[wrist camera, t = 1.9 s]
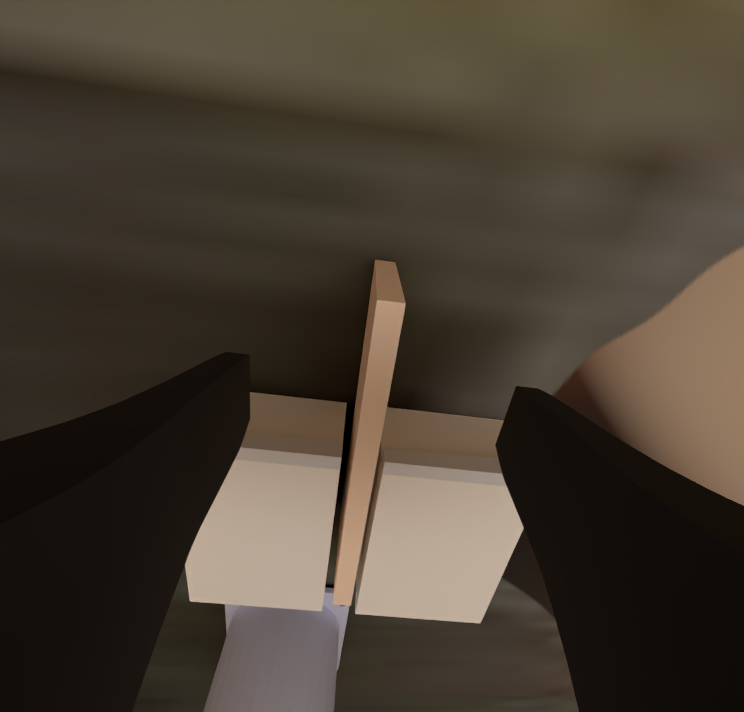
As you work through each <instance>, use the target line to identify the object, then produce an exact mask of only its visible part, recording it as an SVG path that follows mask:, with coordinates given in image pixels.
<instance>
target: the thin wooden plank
mask: <svg viewBox="0 0 744 712" xmlns="http://www.w3.org/2000/svg"><path fill="white" fill-rule="evenodd" d="M405 305H406V302H405V298H404V295H403V291H402V287H401V283H400V279H399V275H398V271H397V267H396V263H395V262H389V261H382V260H375V264H374V271H373V279H372V286H371V293H370V300H369V308H368V315H367V322H366V330H365V337H364V344H363V352H362V359H361V366H360V373H359V381H358V388H357V395H356V403H355V410H354V417H353V424H352V432H351V439H350V446H349V454H348V461H347V468H346V475H345V483H344V490H343V497H342V505H341V512H340V524H339V535H338V547H337V558H336V570H335V581H334V593H333V604H334V605H347V606H351V601H352V596H353V590H354V585H355V579H356V574H357V568H358V563H359V557H360V552H361V546H362V541H363V535H364V530H365V524H366V519H367V513H368V508H369V503H370V497H371V492H372V486H373V481H374V475H375V470H376V464H377V459H378V453H379V448H380V442H381V437H382V431H383V426H384V420H385V415H386V409H387V404H388V398H389V393H390V387H391V382H392V376H393V371H394V366H395V360H396V355H397V349H398V344H399V338H400V333H401V327H402V322H403V316H404V311H405Z"/></svg>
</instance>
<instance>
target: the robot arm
mask: <svg viewBox="0 0 744 712" xmlns="http://www.w3.org/2000/svg"><path fill="white" fill-rule="evenodd" d="M249 421H250V363H249V355H246V354H238V353H229V352H225V353H222V354H220V355H218V356H215V357H213V358H211V359H209V360H207V361H205V362H203V363H201V364H199V365H197V366H195V367H193V368H192V369H190V370H188V371H186V372H184V373H182V374H180V375H178V376H176V377H174V378H172V379H170V380H168V381H166V382H164V383H161V384H159V385H157V386H155V387H153V388H150V389H148V390H146V391H144V392H141V393H139V394H137V395H135V396H133V397H130V398H128V399H126V400H124V401H121V402H119V403H116V404H114V405H111V406H109V407H106V408H104V409H101V410H98V411H96V412H93V413H90V414H87V415H84V416H82V417H79V418H76V419H73V420H70V421H67V422H64V423H61V424H58V425H54V426H51V427H48V428H44V429H41V430H38V431H34V432H31V433H27V434H24V435H21V436H17V437H14V438H11V439H7V440H4V441H0V712H132V710H133V707H134V704H135V701H136V698H137V695H138V692H139V689H140V687H141V684H142V681H143V678H144V675H145V672H146V669H147V666H148V664H149V661H150V658H151V655H152V652H153V649H154V646H155V643H156V641H157V638H158V635H159V632H160V629H161V627H162V624H163V621H164V619H165V616H166V613H167V610H168V608H169V605H170V602H171V600H172V597H173V594H174V591H175V589H176V586H177V583H178V581H179V578H180V576H181V573H182V571H183V568H184V565H185V563H186V560H187V558H188V555H189V553H190V550H191V547H192V545H193V543H194V540H195V538H196V536H197V534H198V532H199V530H200V527H201V525H202V523H203V521H204V519H205V517H206V515H207V513H208V511H209V510H210V508H211V506H212V504H213V502H214V500H215V498H216V496H217V494H218V492H219V490H220V488H221V486H222V484H223V482H224V480H225V478H226V476H227V474H228V472H229V470H230V468H231V466H232V464H233V462H234V460H235V458H236V456H237V454H238V452H239V450H240V447H241V444H242V442H243V439H244V436H245V433H246V430H247V427H248V424H249ZM495 446H496V451H497V455H498V459H499V463H500V467H501V471H502V475H503V478H504V481H505V483H506V486H507V488H508V491H509V493H510V496H511V498H512V501H513V503H514V506H515V508H516V510H517V513H518V515H519V518H520V520H521V522H522V525H523V527H524V530H525V532H526V534H527V537H528V539H529V542H530V544H531V546H532V549H533V551H534V553H535V556H536V559H537V561H538V564H539V567H540V570H541V572H542V575H543V579H544V582H545V585H546V588H547V592H548V595H549V598H550V602H551V605H552V608H553V612H554V615H555V619H556V622H557V626H558V630H559V633H560V637H561V641H562V644H563V648H564V652H565V655H566V659H567V663H568V667H569V671H570V675H571V679H572V683H573V688H574V692H575V696H576V700H577V704H578V708H579V712H744V506H743V505H741V504H738V503H736V502H734V501H732V500H730V499H727V498H725V497H723V496H721V495H719V494H717V493H715V492H713V491H711V490H709V489H707V488H705V487H703V486H701V485H699V484H697V483H695V482H694V481H691V480H690V479H688V478H686V477H684V476H682V475H680V474H678V473H676V472H674V471H673V470H670V469H669V468H667V467H665V466H664V465H662V464H660V463H658V462H656V461H655V460H653V459H651V458H650V457H648V456H646V455H645V454H643V453H641V452H640V451H638V450H636V449H635V448H633V447H631V446H630V445H628V444H626V443H625V442H623V441H621V440H620V439H618V438H617V437H615V436H613V435H612V434H610V433H609V432H607V431H605V430H604V429H602V428H601V427H599V426H598V425H596V424H595V423H593V422H592V421H590V420H589V419H587V418H586V417H584V416H583V415H581V414H579V413H578V412H576V411H575V410H573V409H572V408H570V407H569V406H567V405H566V404H564V403H563V402H561V401H559V400H558V399H556V398H554V397H553V396H551V395H549V394H548V393H546V392H544V391H542V390H540V389H537V388H528V387H520V386H516V388H515V391H514V394H513V396H512V399H511V402H510V405H509V408H508V410H507V413H506V416H505V419H504V422H503V424H502V427H501V430H500V433H499V436H498V438H497V441H496V444H495ZM333 593H334V588H327V587H325V592H324V600H323V608H322V611H310V610H297V609H284V608H271V607H258V606H244V605H231V604H225V616H226V632H227V636H226V639H225V642H224V646H223V649H222V652H221V656H220V659H219V662H218V665H217V669H216V672H215V675H214V678H213V682H212V685H211V688H210V691H209V695H208V698H207V701H206V704H205V708H204V711H203V712H334V702H335V687H336V673H337V670H338V667H339V662H340V656H341V651H342V645H343V640H344V634H345V628H346V623H347V617H348V612H349V606H347V605H334V604H333Z"/></svg>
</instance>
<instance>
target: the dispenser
mask: <svg viewBox="0 0 744 712" xmlns="http://www.w3.org/2000/svg"><path fill="white" fill-rule="evenodd" d="M346 406H347V403H344V402H335V401H326V400H317V399H308V398H299V397H290V396H281V395H272V394H263V393H254V392H250V421H249V424H248V427H247V430H246V433H245V436H244V439H243V442H242V444H241V447H240V450H239V452H238V454H237V456H236V458H235V460H234V462H233V464H232V466H231V468H230V470H229V472H228V474H227V476H226V478H225V480H224V482H223V484H222V486H221V488H220V490H219V492H218V494H217V496H216V498H215V500H214V502H213V504H212V506H211V508H210V510H209V511H208V513H207V515H206V517H205V519H204V521H203V523H202V525H201V527H200V530H199V532H198V534H197V536H196V538H195V540H194V543H193V545H192V547H191V550H190V553H189V555H188V558H187V560H186V563H185V568H186V576H187V583H188V591H189V598H190V601H192V602H205V603H218V604H231V605H244V606H258V607H271V608H284V609H297V610H310V611H322V608H323V600H324V592H325V584H326V576H327V568H328V561H329V553H330V545H331V537H332V529H333V521H334V513H335V506H336V498H337V490H338V482H339V474H340V466H341V459H342V449H343V436H344V426H345V416H346ZM503 422H504V420H498V419H489V418H480V417H471V416H462V415H453V414H444V413H435V412H426V411H417V410H408V409H399V408H389V407H387V409H386V415H385V420H384V426H383V431H382V437H381V442H380V448H379V453H378V459H377V464H376V470H375V475H374V481H373V486H372V492H371V497H370V503H369V508H368V513H367V519H366V524H365V530H364V535H363V541H362V546H361V552H360V557H359V563H358V568H357V576H356V605H355V614H363V615H376V616H390V617H403V618H416V619H429V620H442V621H456V622H469V623H481V621H482V619H483V617H484V614H485V612H486V610H487V608H488V606H489V603H490V601H491V599H492V597H493V595H494V592H495V590H496V588H497V586H498V583H499V581H500V579H501V577H502V575H503V572H504V570H505V568H506V566H507V564H508V561H509V559H510V557H511V555H512V552H513V550H514V548H515V546H516V544H517V541H518V539H519V537H520V535H521V533H522V531H523V528H524V527H523V525H522V522H521V520H520V518H519V515H518V513H517V510H516V508H515V506H514V503H513V501H512V498H511V496H510V493H509V491H508V488H507V486H506V483H505V481H504V478H503V475H502V471H501V467H500V463H499V459H498V455H497V451H496V446H495V444H496V441H497V438H498V436H499V433H500V430H501V427H502V424H503Z"/></svg>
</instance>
